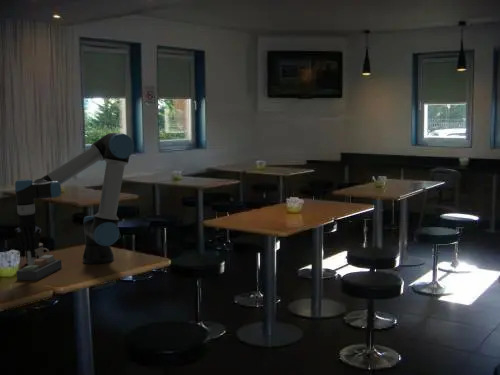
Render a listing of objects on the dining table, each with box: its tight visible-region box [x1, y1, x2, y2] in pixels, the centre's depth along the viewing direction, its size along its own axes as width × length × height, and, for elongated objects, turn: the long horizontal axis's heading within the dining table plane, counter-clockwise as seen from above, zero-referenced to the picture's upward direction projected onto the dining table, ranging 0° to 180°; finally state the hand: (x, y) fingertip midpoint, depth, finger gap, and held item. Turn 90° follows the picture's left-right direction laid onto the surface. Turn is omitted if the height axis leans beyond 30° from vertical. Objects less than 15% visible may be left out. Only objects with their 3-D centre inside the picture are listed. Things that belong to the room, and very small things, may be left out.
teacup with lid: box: [24, 242, 50, 265], centre depth 317 cm, size 12×9×12 cm
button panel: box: [16, 259, 62, 281], centre depth 295 cm, size 10×22×4 cm, turn 168°
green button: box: [22, 265, 39, 271], centre depth 288 cm, size 5×5×4 cm
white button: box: [40, 254, 55, 263], centre depth 302 cm, size 5×5×4 cm
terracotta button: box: [33, 259, 47, 267], centre depth 295 cm, size 5×5×4 cm
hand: (31, 264), depth 288 cm, fingers closed
